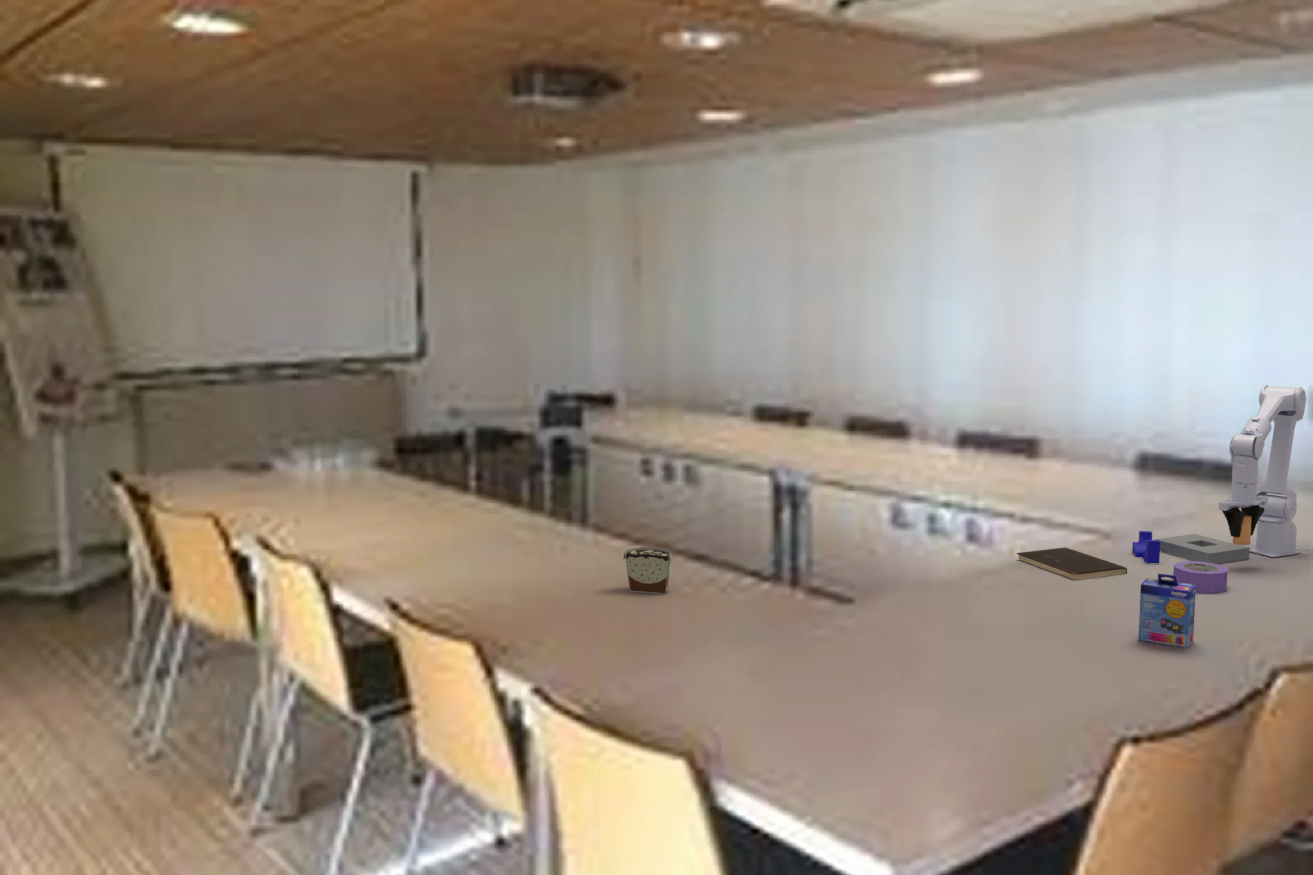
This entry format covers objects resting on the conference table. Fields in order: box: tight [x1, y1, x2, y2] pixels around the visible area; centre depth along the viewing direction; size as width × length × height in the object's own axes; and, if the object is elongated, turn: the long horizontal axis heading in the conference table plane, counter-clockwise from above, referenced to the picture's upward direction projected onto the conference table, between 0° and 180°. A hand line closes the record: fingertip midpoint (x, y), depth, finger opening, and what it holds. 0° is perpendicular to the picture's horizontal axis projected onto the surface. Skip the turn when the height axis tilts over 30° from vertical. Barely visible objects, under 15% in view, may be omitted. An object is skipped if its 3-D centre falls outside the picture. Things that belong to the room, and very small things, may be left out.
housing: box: [1154, 533, 1251, 565], centre depth 322 cm, size 14×18×3 cm
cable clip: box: [1131, 530, 1161, 564], centre depth 319 cm, size 12×4×6 cm, turn 169°
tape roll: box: [1172, 560, 1229, 594], centre depth 291 cm, size 12×12×5 cm
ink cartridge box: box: [1138, 573, 1196, 648], centre depth 250 cm, size 10×6×14 cm, turn 55°
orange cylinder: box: [1232, 515, 1252, 546], centre depth 306 cm, size 4×4×7 cm
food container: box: [623, 546, 674, 595], centre depth 296 cm, size 12×6×10 cm, turn 71°
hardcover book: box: [1016, 547, 1128, 581], centre depth 312 cm, size 16×23×2 cm
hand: (1241, 535), depth 306 cm, fingers closed on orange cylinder, 4 cm apart
